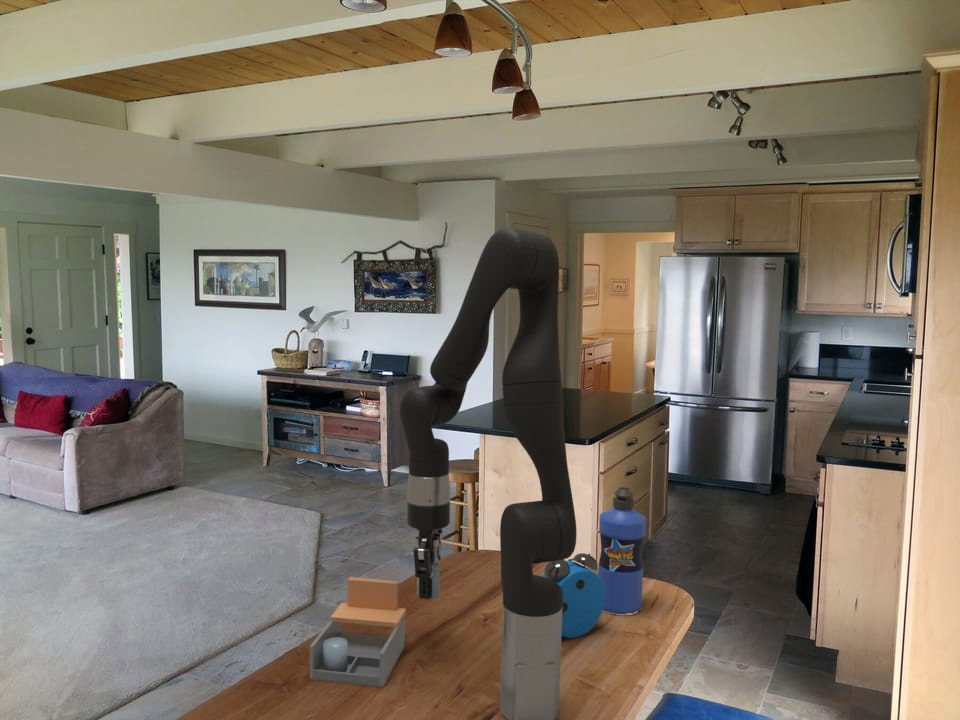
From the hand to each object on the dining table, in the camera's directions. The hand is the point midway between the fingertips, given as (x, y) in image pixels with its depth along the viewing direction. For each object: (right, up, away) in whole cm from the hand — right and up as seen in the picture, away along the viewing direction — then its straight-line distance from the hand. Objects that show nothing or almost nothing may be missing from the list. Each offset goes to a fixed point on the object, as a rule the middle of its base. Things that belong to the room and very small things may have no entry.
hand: (428, 592), depth 140 cm
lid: (-11, -4, 0) cm, 11 cm away
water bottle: (+38, -10, +22) cm, 45 cm away
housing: (-11, -11, -5) cm, 17 cm away
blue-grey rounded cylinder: (0, 0, 0) cm, 0 cm away
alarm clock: (+26, -11, +10) cm, 30 cm away
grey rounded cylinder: (-15, -11, -9) cm, 20 cm away
